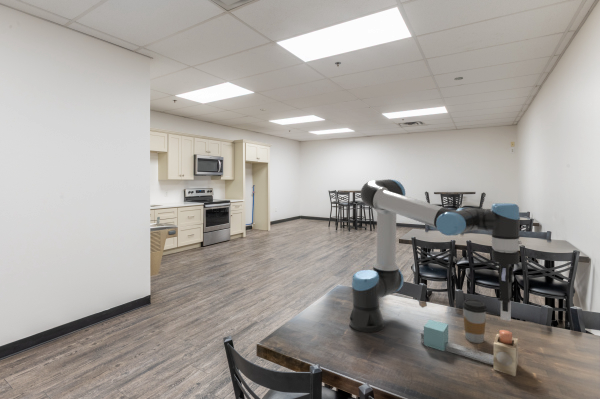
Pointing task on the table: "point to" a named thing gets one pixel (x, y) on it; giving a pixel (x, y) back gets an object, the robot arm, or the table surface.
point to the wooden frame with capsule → (505, 356)
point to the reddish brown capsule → (505, 336)
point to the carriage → (435, 334)
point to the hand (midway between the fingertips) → (505, 319)
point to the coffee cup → (474, 320)
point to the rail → (466, 352)
